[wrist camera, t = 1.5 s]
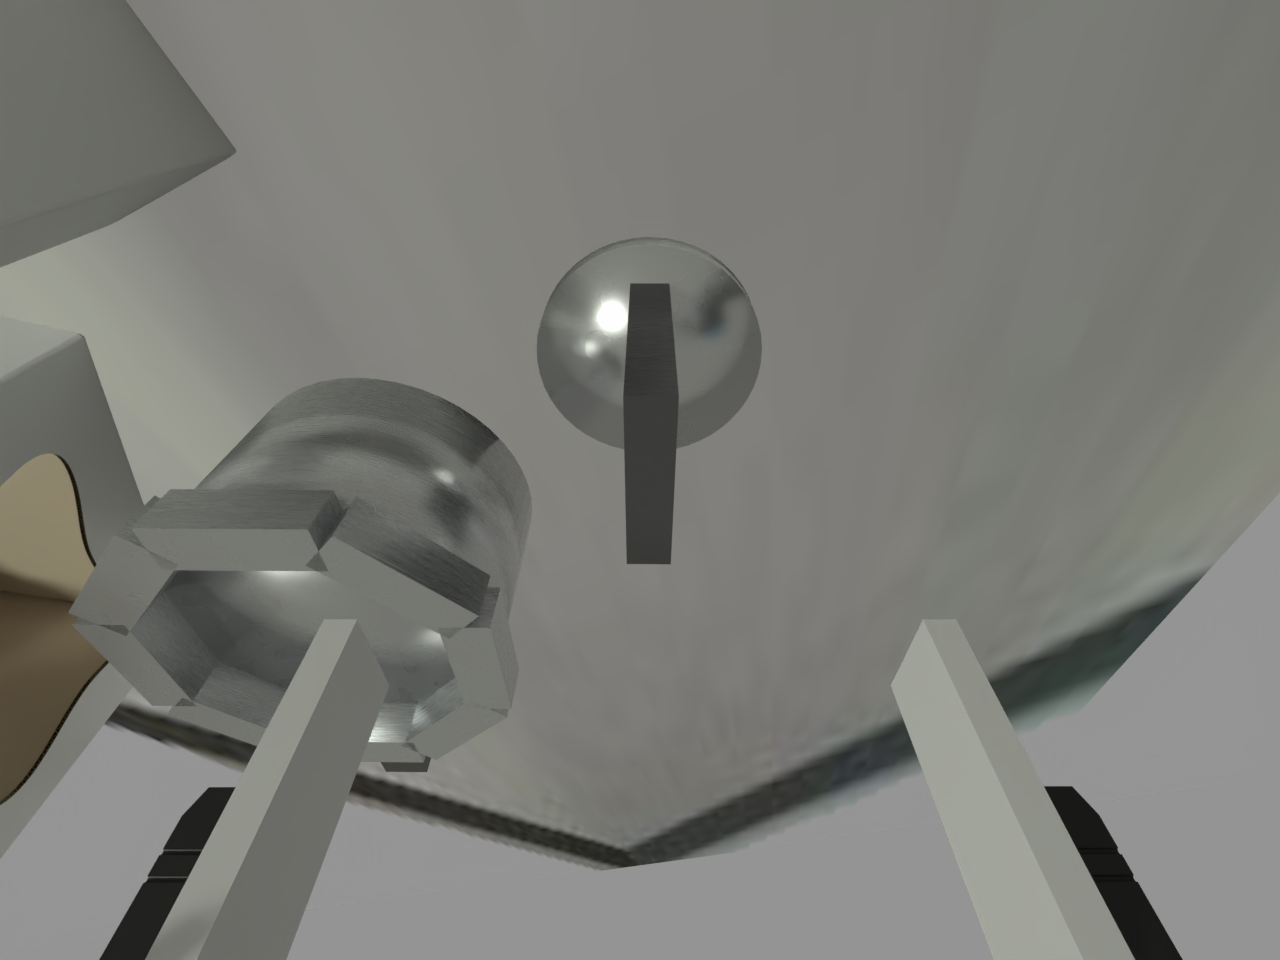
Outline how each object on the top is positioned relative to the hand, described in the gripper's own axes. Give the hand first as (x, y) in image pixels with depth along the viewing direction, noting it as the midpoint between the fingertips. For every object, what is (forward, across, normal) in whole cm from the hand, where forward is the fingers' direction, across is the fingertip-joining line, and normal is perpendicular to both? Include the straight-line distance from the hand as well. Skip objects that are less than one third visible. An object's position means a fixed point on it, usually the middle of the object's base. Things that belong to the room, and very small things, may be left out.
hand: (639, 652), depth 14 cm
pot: (+16, +14, +12) cm, 24 cm away
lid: (+16, 0, 0) cm, 16 cm away
